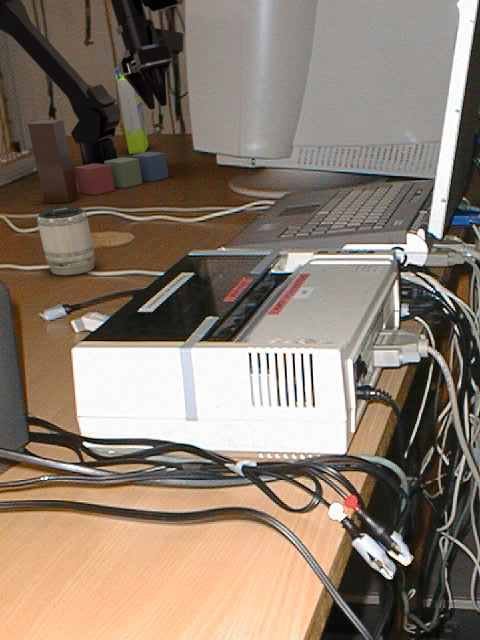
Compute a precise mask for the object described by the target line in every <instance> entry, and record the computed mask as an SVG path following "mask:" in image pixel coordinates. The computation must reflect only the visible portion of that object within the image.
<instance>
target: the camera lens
mask: <svg viewBox="0 0 480 640" xmlns="http://www.w3.org/2000/svg"><path fill="white" fill-rule="evenodd" d="M88 219H89V218H88V213H87V212H86V211H85V210H84V209H82V208H80V207H77V206H74V205H61V206H54V207H50V208H46V209H44V210H43V211H41V212H39V214H38V215H37V218H36V222H37V226H38V231H39V235H40V239H41V243H42V244H41V245H42V248H43V252H44V258H45V259H46V263H47V266H48V267H49V269H50V272H51V273H52V274H53V275H58V276H73V275H81V274H84V273H88V272H90V271H93V270H94V269H95V266H96V265H95V260H96V258H95V257H96V255H95V248H94V245H93V244H94V243H93V238H92V234H91V230H90V229H91V228H90V224H89V220H88Z"/></svg>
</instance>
